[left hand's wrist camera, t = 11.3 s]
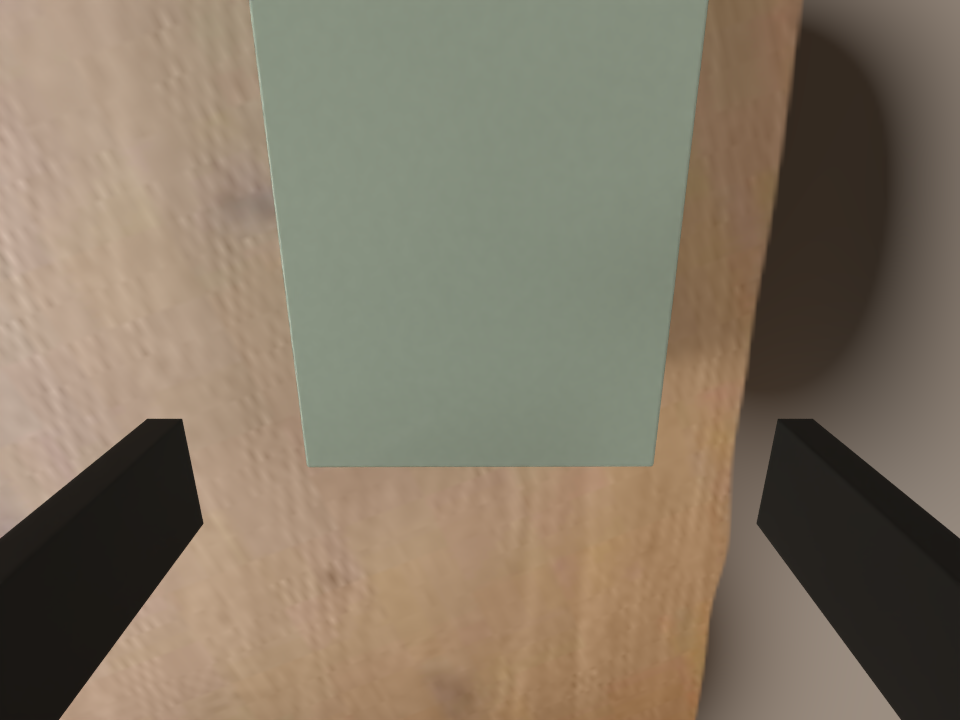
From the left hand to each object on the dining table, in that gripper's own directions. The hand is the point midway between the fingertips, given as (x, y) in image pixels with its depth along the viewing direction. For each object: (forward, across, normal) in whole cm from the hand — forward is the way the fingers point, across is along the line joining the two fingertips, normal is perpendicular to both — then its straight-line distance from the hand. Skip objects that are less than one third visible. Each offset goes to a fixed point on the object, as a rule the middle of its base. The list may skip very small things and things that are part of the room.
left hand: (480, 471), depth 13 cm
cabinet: (+13, 0, -7) cm, 15 cm away
